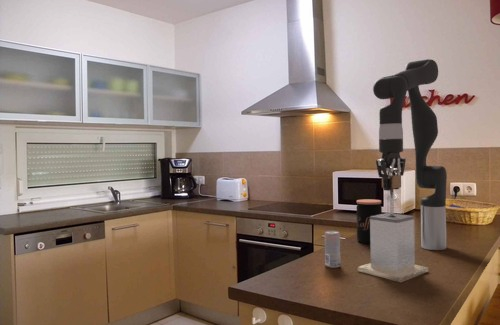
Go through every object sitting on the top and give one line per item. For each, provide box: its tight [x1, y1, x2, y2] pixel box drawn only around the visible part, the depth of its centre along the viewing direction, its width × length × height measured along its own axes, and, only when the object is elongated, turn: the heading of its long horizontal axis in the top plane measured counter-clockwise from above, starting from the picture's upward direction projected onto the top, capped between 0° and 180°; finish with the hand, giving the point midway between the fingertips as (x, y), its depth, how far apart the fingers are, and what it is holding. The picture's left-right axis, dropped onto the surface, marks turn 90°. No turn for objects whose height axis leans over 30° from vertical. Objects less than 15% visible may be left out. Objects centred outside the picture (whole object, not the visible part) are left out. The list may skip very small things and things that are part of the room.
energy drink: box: [324, 230, 341, 269], centre depth 147 cm, size 5×5×12 cm
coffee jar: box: [356, 198, 383, 245], centre depth 183 cm, size 11×11×18 cm
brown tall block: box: [381, 174, 402, 217], centre depth 138 cm, size 7×7×21 cm
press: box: [357, 212, 429, 283], centre depth 139 cm, size 16×16×18 cm
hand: (391, 189), depth 138 cm, fingers closed on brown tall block, 4 cm apart
